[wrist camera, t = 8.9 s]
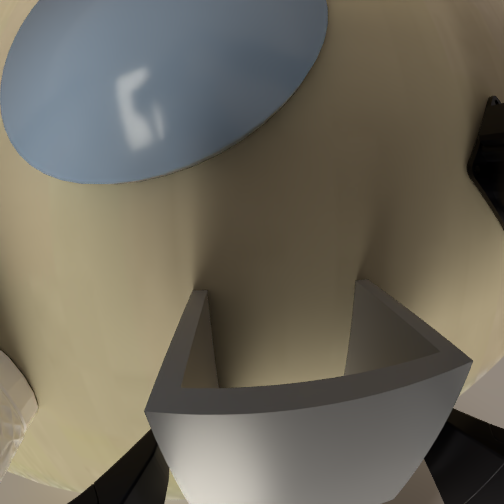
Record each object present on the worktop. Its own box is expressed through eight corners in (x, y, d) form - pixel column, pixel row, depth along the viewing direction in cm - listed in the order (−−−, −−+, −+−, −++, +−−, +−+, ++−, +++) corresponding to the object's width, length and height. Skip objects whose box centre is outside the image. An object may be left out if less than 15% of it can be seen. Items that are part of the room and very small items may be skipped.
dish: (371, -2, 8) (380, -13, 7) (185, 259, 11) (180, 267, 9) (140, -72, 6) (136, -82, 4) (-19, 116, 8) (-31, 114, 7)
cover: (348, 404, 13) (393, 498, 6) (212, 418, 12) (204, 528, 6) (367, 279, 11) (473, 360, 5) (192, 290, 11) (144, 411, 4)
